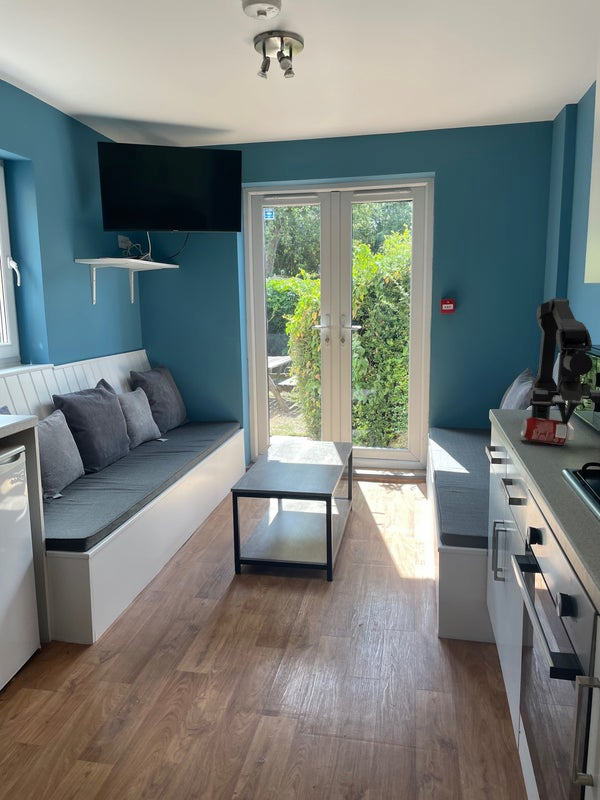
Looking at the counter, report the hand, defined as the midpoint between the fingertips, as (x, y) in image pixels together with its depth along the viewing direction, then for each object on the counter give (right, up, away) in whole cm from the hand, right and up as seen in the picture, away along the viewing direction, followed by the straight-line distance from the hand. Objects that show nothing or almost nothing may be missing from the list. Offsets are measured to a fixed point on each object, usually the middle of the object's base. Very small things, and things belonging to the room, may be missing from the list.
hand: (564, 425), depth 164 cm
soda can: (+1, -3, +1) cm, 3 cm away
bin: (+1, -4, +13) cm, 13 cm away
